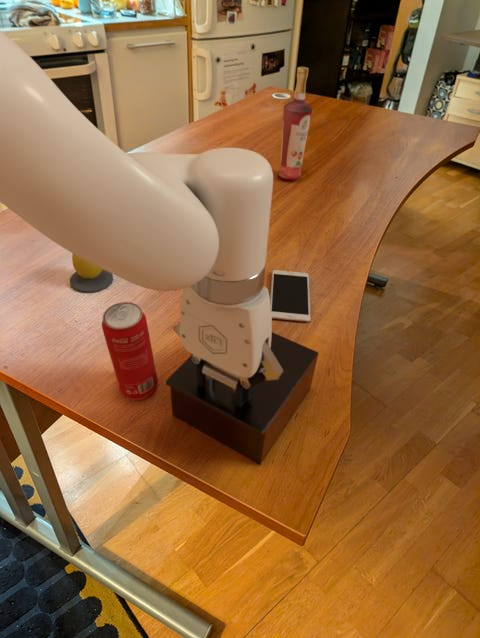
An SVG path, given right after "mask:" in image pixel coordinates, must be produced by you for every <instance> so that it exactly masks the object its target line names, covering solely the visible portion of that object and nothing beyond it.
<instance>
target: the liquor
mask: <svg viewBox="0 0 480 638" xmlns="http://www.w3.org/2000/svg"><path fill="white" fill-rule="evenodd" d="M308 76H309V67H308V66H307V67H306V66H298V67H297V70H296V85H295V90H294V94H293V100H291V101H288V102H287V103H285V105H284V106H283V113H282V114H283V115H282V126H281V127H282V129H281V147H280V158H279V159H280V160H279V169H278V170H277V175H278V176H279V177H280V178H281V179H282V180H283V181H286V182H295V181H298V179H300V178H302V176H303V173H302V167H303V160H304V155H305V150H306V149H305V148H306V145H307V140H308V139H307V138H308V135H309V129H310V124H311V123H310V122H311V119H312V118H311V117H312V113H313V107H312V106H311V105H310V104H309V103H308V102H306V89H307V85H306V84H307V79H308Z"/></svg>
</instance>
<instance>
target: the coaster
mask: <svg viewBox="0 0 480 638" xmlns="http://www.w3.org/2000/svg"><path fill="white" fill-rule="evenodd" d="M113 275H114V274H112V273H110V272H108V271H106V270H102V272H101V273H100V274H99V275H98V276H97V277H95V278H93V279H87V278H83V277H81V276H80V275H79V274H78V273H77V272H76V271H75V272H74V273H73V274H71V276H70V278H69V284H70V287H71V288H72V290H74V291H76V292H78V293H81V294H83V293H84V294H94V293H99V292H101V291H104V290H106V289H107V288H109V287H110V286H111V285H112V283H113V281H114V277H113Z"/></svg>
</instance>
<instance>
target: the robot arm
mask: <svg viewBox="0 0 480 638" xmlns="http://www.w3.org/2000/svg"><path fill="white" fill-rule="evenodd" d="M273 188H274V172H273V169H272V165H271V163H270V162H269V161H268V160H267V158H265V157H264V156H263V155H262V154H259V153H258V152H256V151H253V150H250V149H246V148H241V147H231V146H230V147H217V148H212V149H208V150H205V151H203V152H201V153H170V152H169V153H168V152H149V151H140V152H129V153H126V151H124V150H123V149H122V148H121V147H119V146H118V145H117V144H116V143H114V142H113V141H112V140H111V139H110V138H109V137H108V136H106V134H104V133H103V132H102V131H101V130H99V128H97V126H95V125H94V124H93V122H91V121H90V120H89V119H88V118H87V117H86V116H85V115H84V114H83V113H82V112H81V111H80V110H79V109H78V108H77V107H76V106H75V105H74V104H73V103H72V102H71V101H70V100H69V98H68V97H67V96H66V95H65V94H64V93H63V92H62V90H61V89H60V88H59V87H58V86H57V84H56V83H55V82H54V81H53V80H52V79H51V78H50V76H49V75H48V74H47V73H46V72H45V71H44V70H43V68H42V67H41V66H39V64H38V63H37V62H36V61H35V60H34V59H33V58H32V57H31V56H30V55H29V54H28V53H27V52H26V51H24V49H23V48H21V47H20V46H19V45H18V44H17V43H16V42H15V41H14V40H12V39H11V38H10V36H8V35H7V34H6V33H5V32H3V31H2V30H0V203H1V204H2V205H3V206H4V207H6V208H7V209H9V210H11V211H12V212H13V213H14V214H15V215H17V216H18V217H19V218H21V219H22V220H23V221H24V222H26V223H28V224H29V225H30V226H31V227H33V228H34V229H35V230H37V231H38V232H39V233H41V234H42V235H44V236H45V237H46V238H48V239H49V240H50V241H52V242H53V243H55V244H57V245H58V246H60V247H61V248H63V249H64V250H66V251H67V252H70V253H71V254H72V255H73V254H74V255H76V256H78V257H80V258H82V259H84V260H85V261H87V262H89V263H91V264H93V265H96V266H98V267H100V268H101V269H103V270H106V271H108V272H110V273H112V275H114V276H117V277H118V278H120V279H123V280H124V281H127V282H129V283H131V284H133V285H136V286H138V287H142V288H145V289H149V290H153V291H159V292H173V291H174V292H175V291H181V290H182V295H181V301H180V308H179V309H180V310H179V322H178V323H177V324H176V325H174V326H173V331H174V332H175V333H176V334H177V336H178V338H179V339H180V344H181V346H182V347H183V349H185V351H187V352H188V353H190V354H191V355H192V358H191V359H192V361H193V362H194V363H195V364H196V373H197V385H198V386H199V387H201V388H202V387H204V386H205V375H204V374H202V369H203V366H204V364H205V363H206V362H209V363H211V364H213V365H216V366H218V367H220V368H222V369H224V370H226V371H228V372H230V373H232V374H235V375H237V376H239V379H240V382H239V383H238V384H237V386H236V402H235V404H236V406H237V407H239V408H241V407H242V405H243V404H244V403H245V401H246V400H247V401H250V400H251V399H252V397H253V395H254V393H255V384H259V383H262V382H264V381H265V380H267V381H270V380H277V379H278V378H279V377H280V376H281V374H282V373H283V369H282V367H281V365H280V364H279V362H278V360H277V359H276V357H275V356H274V354H273V352H272V351H271V349H270V348H271V336H272V332H273V328H272V327H273V318H272V315H271V304H270V293H269V289H268V287H266V286H265V277H266V267H267V266H266V265H267V255H268V242H269V234H270V221H271V209H272V200H273ZM260 361H261V363H262V365H263V366H262V367H259V364H260Z"/></svg>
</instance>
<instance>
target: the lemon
mask: <svg viewBox="0 0 480 638" xmlns="http://www.w3.org/2000/svg"><path fill="white" fill-rule="evenodd" d="M71 256H72V257H71V260H72V261H71V262H72V266H73V269H74V271H75V272H77V273H78V274H79V275H80V276H81V277H83V278H87V279H93V278H95V277H97V276H98V275H99V274H100V273H101V272H102V270H103V269H101V268H100V267H98V266H96V265H93V264H91V263H89V262H87V261H85V260H84V259H82V258H80V257H78V256H76V255H74V254H73V253H72V255H71Z"/></svg>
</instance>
